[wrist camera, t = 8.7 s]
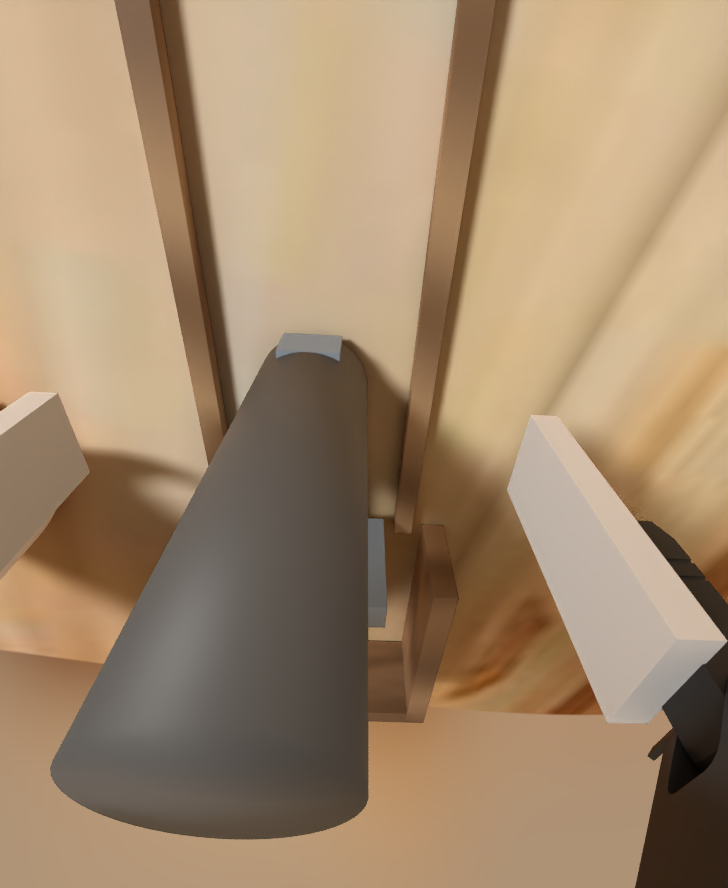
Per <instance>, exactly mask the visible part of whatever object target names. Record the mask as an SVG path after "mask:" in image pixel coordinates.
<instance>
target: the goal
mask: <svg viewBox="0 0 728 888" xmlns="http://www.w3.org/2000/svg"><path fill="white" fill-rule="evenodd" d="M458 599H459V597H458V592H457V588H456V583H455V578H454V573H453V568H452V564H451V559H450V554H449V549H448V545H447V540H446V535H445V530H444V526H443V525H422V531H421V537H420V542H419V548H418V553H417V559H416V565H415V570H414V576H413V581H412V587H411V593H410V598H409V604H408V609H407V615H406V621H405V626H404V632H403V638H402V642H389V641H368V721H379V722H381V721H382V722H413V723H423V722H424V718H425V714H426V711H427V708H428V704H429V701H430V697H431V694H432V690H433V687H434V683H435V680H436V676H437V673H438V669H439V666H440V662H441V659H442V655H443V652H444V648H445V645H446V641H447V638H448V634H449V631H450V627H451V624H452V620H453V617H454V613H455V610H456V606H457V603H458Z"/></svg>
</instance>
